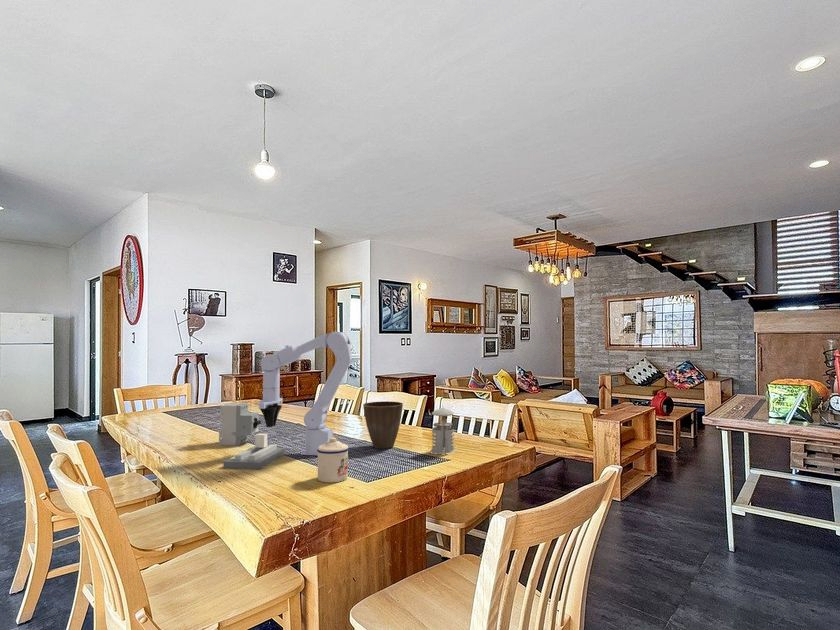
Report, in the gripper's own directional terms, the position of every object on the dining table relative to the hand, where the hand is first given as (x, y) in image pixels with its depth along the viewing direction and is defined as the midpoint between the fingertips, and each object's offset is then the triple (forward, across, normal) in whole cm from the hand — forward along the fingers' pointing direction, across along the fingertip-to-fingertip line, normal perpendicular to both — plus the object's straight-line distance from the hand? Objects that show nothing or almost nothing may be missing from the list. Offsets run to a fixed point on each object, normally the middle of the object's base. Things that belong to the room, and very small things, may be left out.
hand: (270, 426), depth 166 cm
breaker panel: (+9, +10, 0) cm, 14 cm away
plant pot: (+10, -15, +38) cm, 42 cm away
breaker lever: (+7, +7, 0) cm, 10 cm away
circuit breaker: (+10, -14, -19) cm, 25 cm away
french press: (+10, -9, +61) cm, 62 cm away
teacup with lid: (+10, +25, +32) cm, 42 cm away
